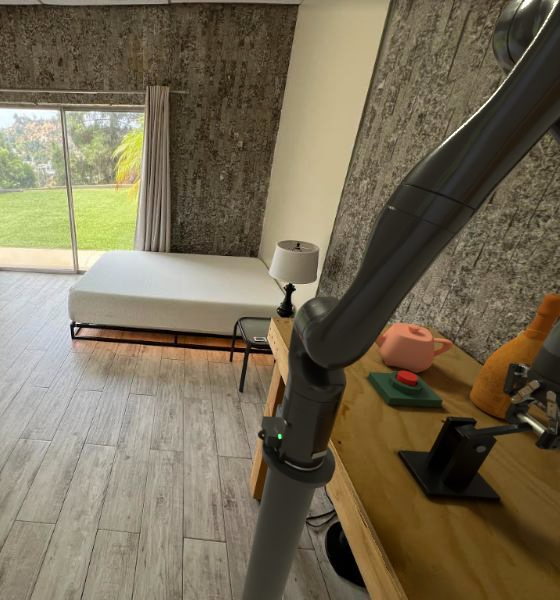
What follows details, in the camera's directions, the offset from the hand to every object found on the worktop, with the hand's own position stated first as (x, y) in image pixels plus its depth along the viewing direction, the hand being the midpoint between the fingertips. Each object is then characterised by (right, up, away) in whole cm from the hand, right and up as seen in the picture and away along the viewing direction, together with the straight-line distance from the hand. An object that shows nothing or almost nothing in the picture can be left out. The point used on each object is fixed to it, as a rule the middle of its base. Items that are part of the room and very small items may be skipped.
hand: (527, 433), depth 55 cm
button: (-1, +3, +26) cm, 26 cm away
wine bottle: (+18, -3, +22) cm, 28 cm away
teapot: (+7, +5, +39) cm, 40 cm away
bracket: (-9, -11, +6) cm, 15 cm away
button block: (-1, -1, +27) cm, 27 cm away
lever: (-4, -1, +1) cm, 4 cm away
